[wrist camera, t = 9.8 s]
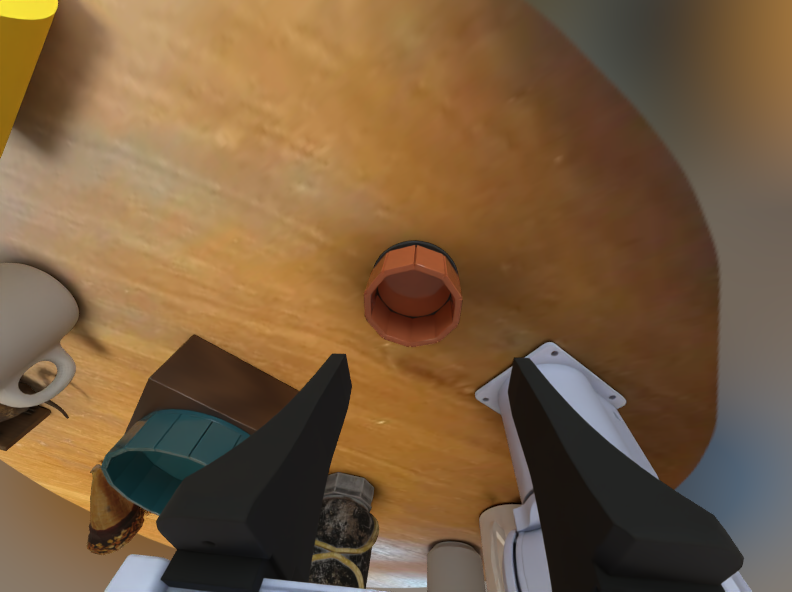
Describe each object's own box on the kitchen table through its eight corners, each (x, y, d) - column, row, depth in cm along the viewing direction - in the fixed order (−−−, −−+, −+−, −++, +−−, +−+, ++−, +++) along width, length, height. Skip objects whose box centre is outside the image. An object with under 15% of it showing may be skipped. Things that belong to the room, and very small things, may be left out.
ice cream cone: (55, 468, 38) (87, 540, 44) (64, 503, 35) (96, 575, 41) (120, 440, 42) (141, 508, 48) (133, 468, 39) (153, 537, 45)
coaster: (476, 276, 21) (477, 279, 21) (420, 329, 24) (420, 332, 23) (407, 221, 19) (407, 224, 19) (355, 285, 22) (354, 288, 22)
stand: (324, 404, 30) (306, 454, 25) (268, 459, 36) (246, 507, 31) (193, 334, 26) (148, 378, 22) (157, 407, 32) (116, 453, 28)
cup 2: (518, 481, 33) (549, 612, 25) (560, 529, 38) (598, 654, 29) (451, 497, 36) (457, 619, 28) (497, 540, 41) (515, 655, 32)
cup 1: (139, 347, 28) (46, 425, 21) (76, 361, 30) (-28, 437, 23) (36, 237, 23) (-131, 294, 16) (-32, 262, 24) (-209, 323, 18)
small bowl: (476, 277, 21) (483, 303, 18) (419, 331, 23) (417, 360, 21) (408, 224, 19) (404, 243, 16) (355, 288, 22) (345, 314, 19)
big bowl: (296, 454, 26) (281, 496, 23) (243, 502, 31) (225, 540, 28) (154, 386, 22) (117, 425, 20) (123, 453, 28) (91, 490, 25)
